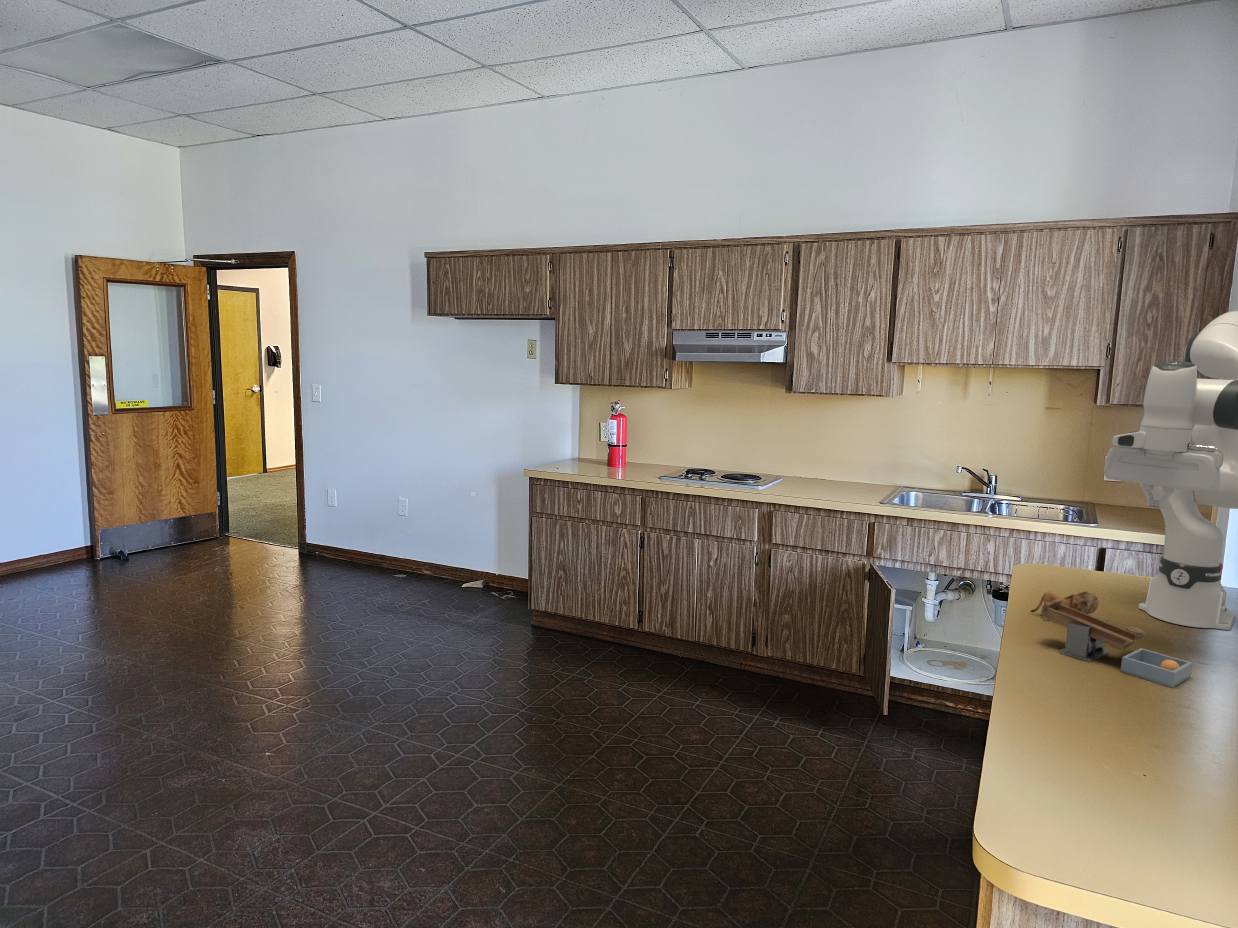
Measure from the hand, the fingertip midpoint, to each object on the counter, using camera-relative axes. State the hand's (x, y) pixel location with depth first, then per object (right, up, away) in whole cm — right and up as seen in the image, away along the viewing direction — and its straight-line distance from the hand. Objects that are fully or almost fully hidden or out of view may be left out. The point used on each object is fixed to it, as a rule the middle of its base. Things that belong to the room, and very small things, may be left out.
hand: (1155, 507), depth 167 cm
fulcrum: (-14, -30, +1) cm, 34 cm away
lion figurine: (-8, -28, +19) cm, 35 cm away
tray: (-7, -32, -10) cm, 34 cm away
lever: (-12, -25, +2) cm, 28 cm away
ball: (-5, -30, -12) cm, 33 cm away
